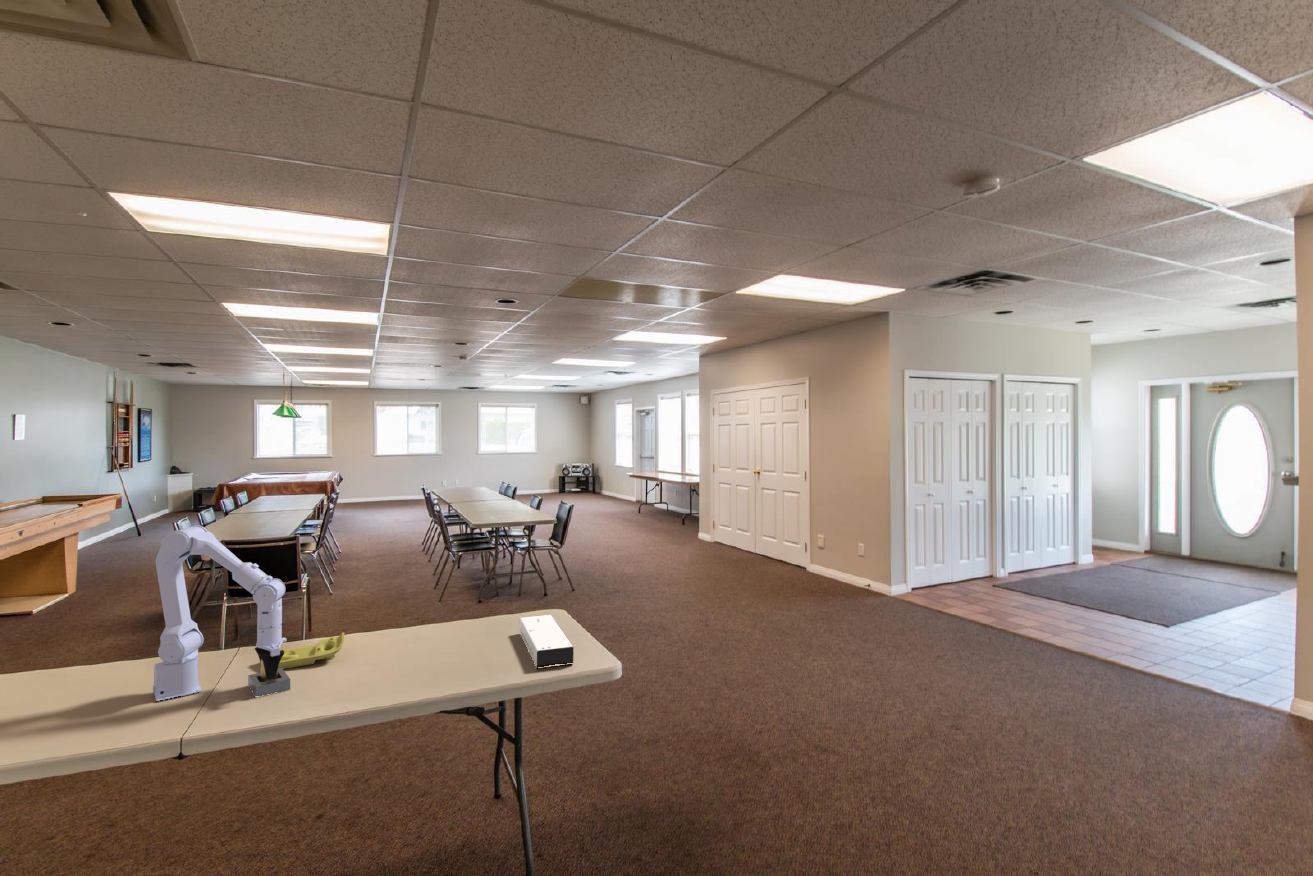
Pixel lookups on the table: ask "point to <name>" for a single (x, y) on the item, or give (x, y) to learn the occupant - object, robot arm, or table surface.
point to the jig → (269, 683)
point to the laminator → (545, 641)
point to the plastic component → (311, 652)
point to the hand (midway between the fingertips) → (269, 674)
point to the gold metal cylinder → (263, 676)
